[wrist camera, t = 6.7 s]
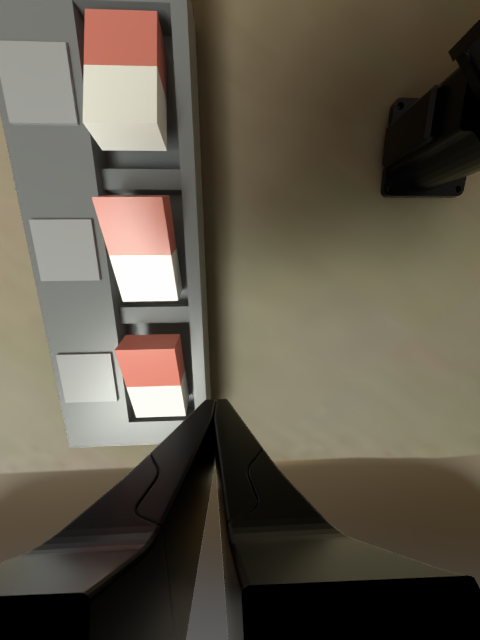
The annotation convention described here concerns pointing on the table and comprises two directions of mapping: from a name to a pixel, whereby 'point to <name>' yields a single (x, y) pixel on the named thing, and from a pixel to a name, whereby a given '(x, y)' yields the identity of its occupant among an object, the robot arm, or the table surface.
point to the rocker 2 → (141, 245)
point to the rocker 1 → (125, 80)
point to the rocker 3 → (154, 374)
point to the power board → (81, 219)
